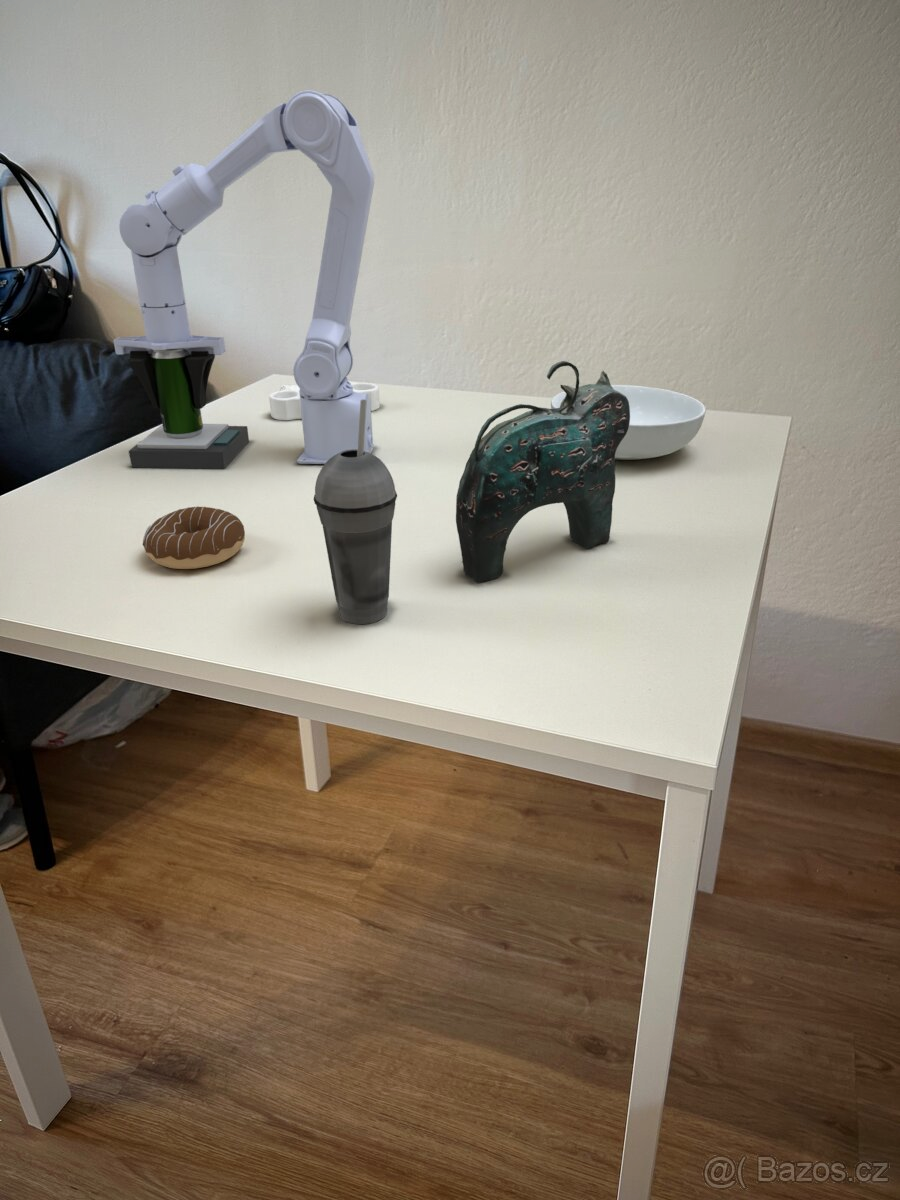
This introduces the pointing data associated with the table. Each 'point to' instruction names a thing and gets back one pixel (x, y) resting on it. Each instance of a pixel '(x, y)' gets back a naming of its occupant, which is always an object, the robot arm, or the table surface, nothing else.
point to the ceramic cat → (542, 472)
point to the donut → (194, 538)
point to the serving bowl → (655, 421)
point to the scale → (191, 448)
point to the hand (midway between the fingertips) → (179, 406)
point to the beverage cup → (357, 529)
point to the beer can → (175, 394)
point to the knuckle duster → (289, 405)
